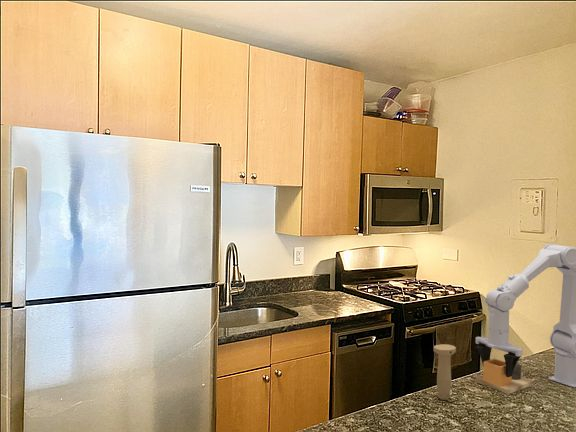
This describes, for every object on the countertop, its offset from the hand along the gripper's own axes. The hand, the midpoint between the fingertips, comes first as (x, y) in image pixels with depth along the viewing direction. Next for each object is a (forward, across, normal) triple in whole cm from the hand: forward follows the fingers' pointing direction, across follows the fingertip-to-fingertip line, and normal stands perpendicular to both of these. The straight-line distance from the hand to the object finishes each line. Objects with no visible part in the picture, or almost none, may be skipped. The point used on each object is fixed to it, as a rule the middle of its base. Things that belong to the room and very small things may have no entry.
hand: (497, 372), depth 140 cm
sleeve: (+3, 0, 0) cm, 3 cm away
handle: (+4, -2, -22) cm, 23 cm away
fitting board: (+4, 0, +4) cm, 6 cm away
